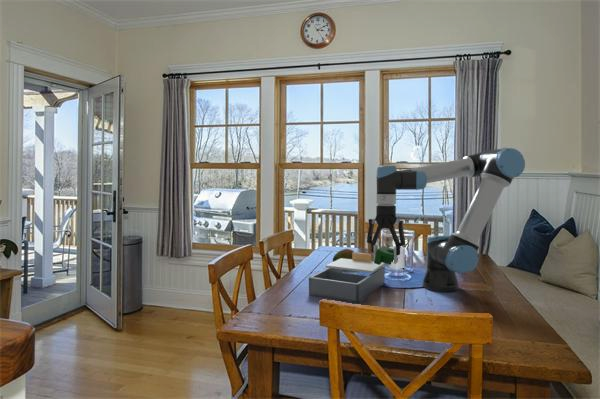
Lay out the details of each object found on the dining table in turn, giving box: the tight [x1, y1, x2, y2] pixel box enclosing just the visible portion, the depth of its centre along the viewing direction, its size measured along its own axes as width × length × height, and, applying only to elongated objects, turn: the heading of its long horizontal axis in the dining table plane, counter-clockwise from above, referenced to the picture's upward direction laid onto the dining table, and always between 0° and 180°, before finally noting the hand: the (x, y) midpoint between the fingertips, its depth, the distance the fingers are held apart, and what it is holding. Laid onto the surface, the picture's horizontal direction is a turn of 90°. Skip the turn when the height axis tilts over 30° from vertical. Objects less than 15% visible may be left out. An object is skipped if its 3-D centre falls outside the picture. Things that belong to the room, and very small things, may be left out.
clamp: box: [373, 245, 394, 266], centre depth 156 cm, size 12×6×9 cm, turn 151°
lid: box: [325, 251, 386, 274], centre depth 179 cm, size 22×17×4 cm
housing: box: [308, 266, 386, 304], centre depth 173 cm, size 22×33×8 cm, turn 150°
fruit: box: [332, 248, 355, 262], centre depth 211 cm, size 12×13×10 cm
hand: (385, 261), depth 156 cm, fingers closed on clamp, 7 cm apart
